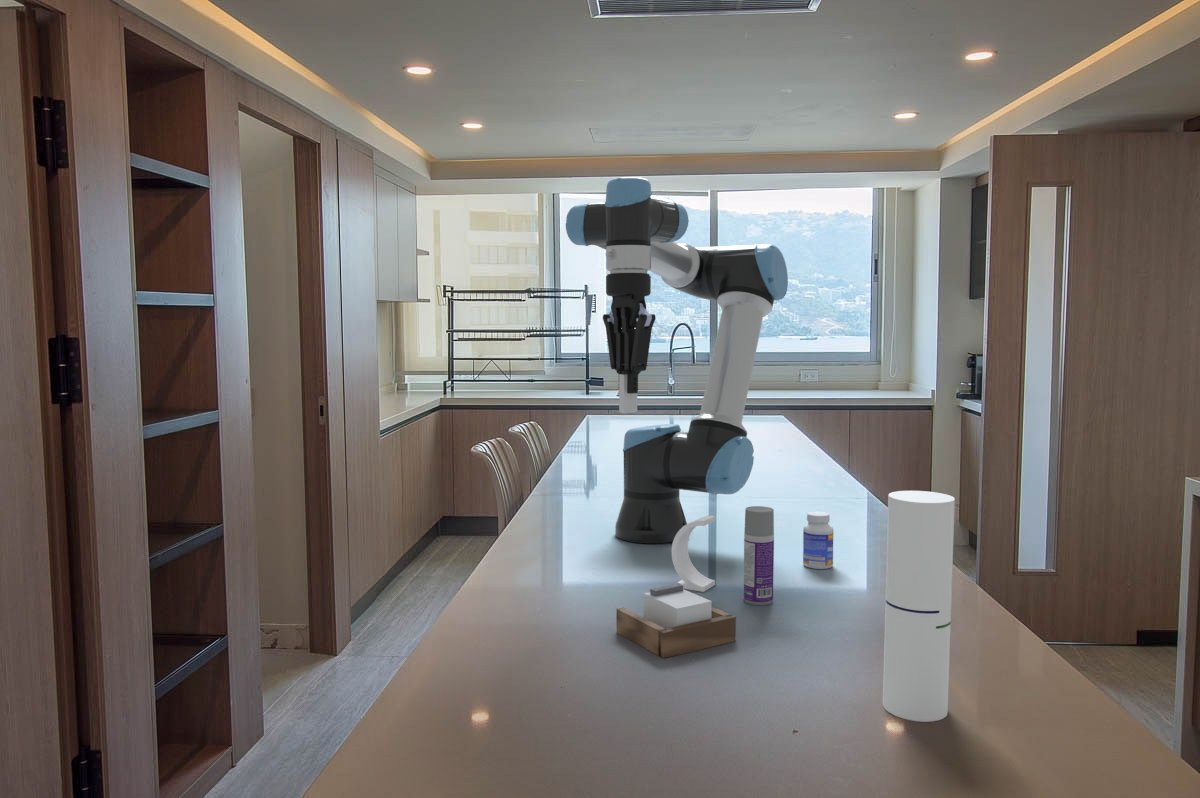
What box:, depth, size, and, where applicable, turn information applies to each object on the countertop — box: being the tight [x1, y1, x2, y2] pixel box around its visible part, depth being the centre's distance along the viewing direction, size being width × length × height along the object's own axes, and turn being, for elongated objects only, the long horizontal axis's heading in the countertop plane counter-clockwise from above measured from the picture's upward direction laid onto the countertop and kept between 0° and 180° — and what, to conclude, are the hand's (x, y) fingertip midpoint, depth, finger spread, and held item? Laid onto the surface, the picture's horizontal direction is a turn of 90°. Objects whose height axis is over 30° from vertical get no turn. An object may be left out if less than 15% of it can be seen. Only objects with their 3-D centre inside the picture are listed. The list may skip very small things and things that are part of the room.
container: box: [743, 505, 775, 606], centre depth 144 cm, size 5×5×15 cm
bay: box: [615, 605, 737, 659], centre depth 128 cm, size 12×12×4 cm
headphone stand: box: [671, 515, 716, 593], centre depth 152 cm, size 5×6×12 cm
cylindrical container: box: [882, 490, 956, 723], centre depth 103 cm, size 7×7×25 cm
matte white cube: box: [643, 583, 712, 629], centre depth 128 cm, size 8×6×7 cm
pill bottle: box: [802, 511, 834, 570], centre depth 164 cm, size 5×5×10 cm
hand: (628, 412), depth 153 cm, fingers closed
